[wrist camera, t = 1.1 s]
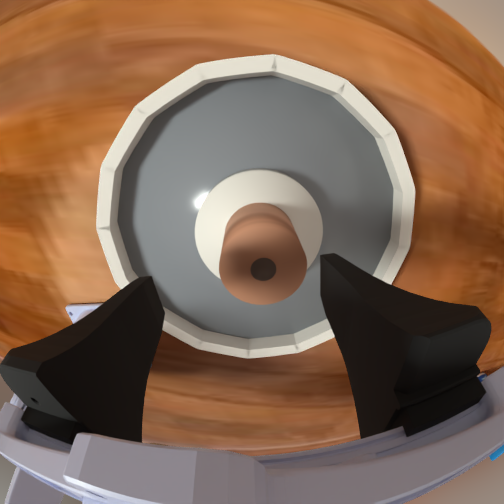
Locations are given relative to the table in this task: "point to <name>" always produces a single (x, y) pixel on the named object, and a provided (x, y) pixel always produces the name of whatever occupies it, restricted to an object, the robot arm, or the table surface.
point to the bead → (261, 255)
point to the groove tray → (242, 145)
